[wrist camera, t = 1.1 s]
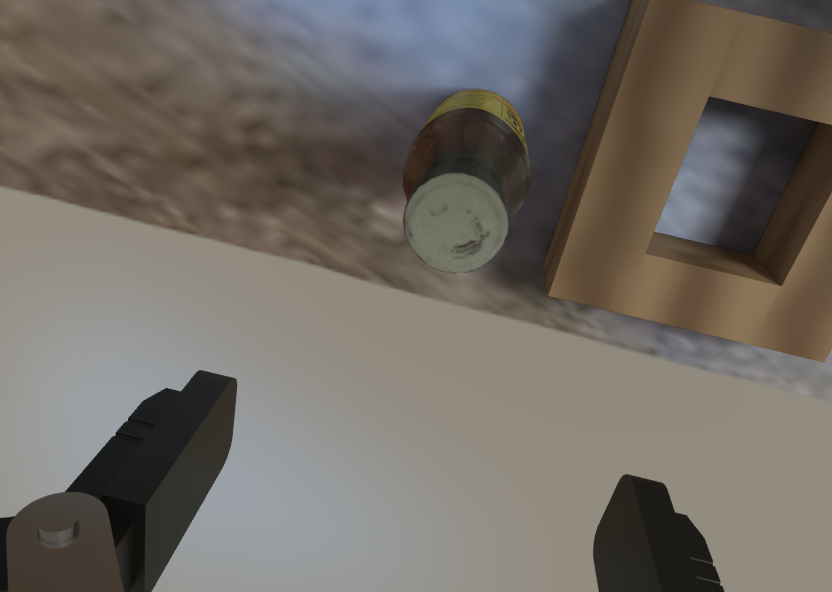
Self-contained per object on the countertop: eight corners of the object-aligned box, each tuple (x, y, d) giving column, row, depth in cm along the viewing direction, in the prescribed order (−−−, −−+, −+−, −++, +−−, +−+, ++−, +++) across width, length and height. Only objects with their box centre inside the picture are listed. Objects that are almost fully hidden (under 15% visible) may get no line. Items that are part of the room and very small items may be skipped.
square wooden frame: (938, 61, 37) (998, 71, 32) (791, 325, 45) (824, 362, 40) (634, -10, 37) (652, -10, 33) (543, 265, 45) (548, 295, 41)
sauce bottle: (516, 184, 43) (526, 325, 25) (424, 175, 43) (371, 306, 26) (530, 84, 40) (553, 161, 22) (432, 75, 40) (377, 144, 23)
